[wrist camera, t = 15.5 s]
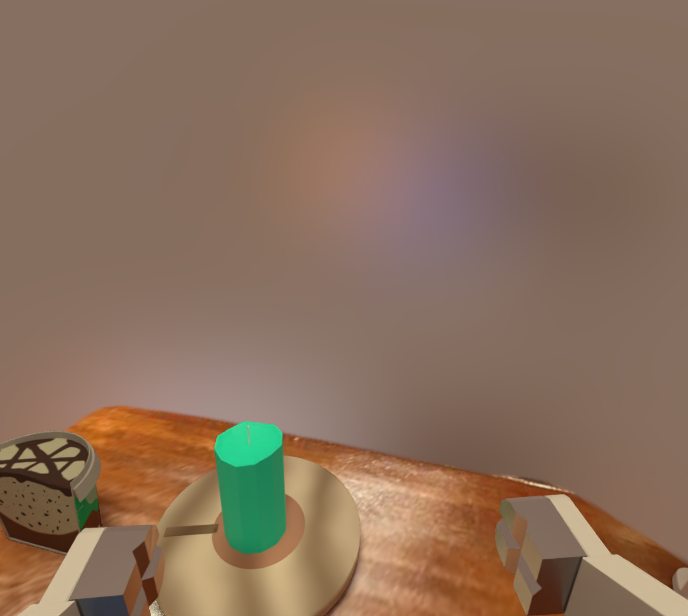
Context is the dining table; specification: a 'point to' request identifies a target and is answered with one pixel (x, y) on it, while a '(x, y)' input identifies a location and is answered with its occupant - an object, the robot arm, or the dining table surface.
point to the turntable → (269, 566)
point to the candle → (252, 486)
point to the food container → (48, 489)
